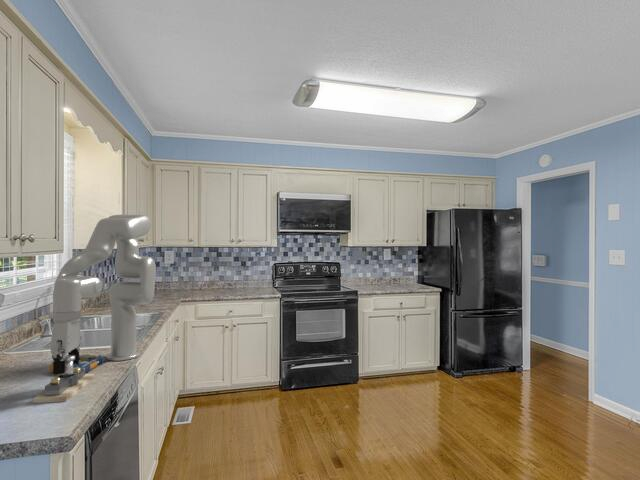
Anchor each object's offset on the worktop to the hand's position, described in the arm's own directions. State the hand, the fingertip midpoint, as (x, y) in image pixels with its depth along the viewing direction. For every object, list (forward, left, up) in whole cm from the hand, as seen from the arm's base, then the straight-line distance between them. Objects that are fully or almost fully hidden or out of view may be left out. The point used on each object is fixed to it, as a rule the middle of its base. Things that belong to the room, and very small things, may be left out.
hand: (66, 368), depth 122 cm
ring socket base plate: (0, 0, -7) cm, 7 cm away
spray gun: (-21, -6, -7) cm, 24 cm away
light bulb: (0, 0, -5) cm, 5 cm away
